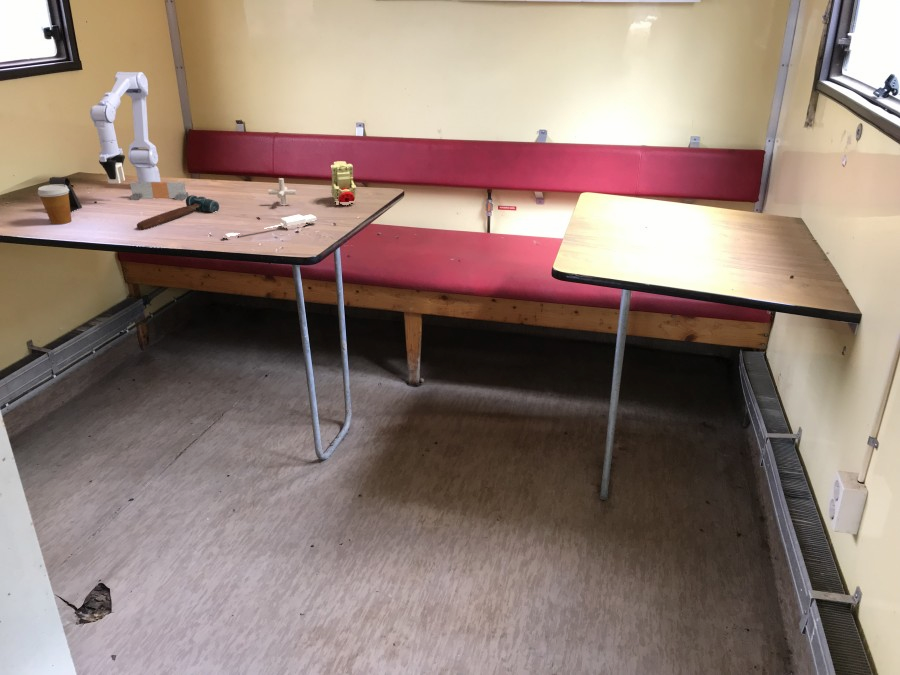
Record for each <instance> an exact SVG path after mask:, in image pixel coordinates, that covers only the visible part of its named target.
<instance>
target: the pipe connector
mask: <svg viewBox="0 0 900 675" xmlns="http://www.w3.org/2000/svg"><path fill="white" fill-rule="evenodd" d="M278 185H279V186H278V189H268V190H267V191H268V195H276V196H277V198H278V199H280V204H286V205H287V199H286V198H287V197H286V195H290V196H291V195H297V189H288V187H287V186H285V179H284V178H282V177H281V178H280V177H279V178H278Z"/></svg>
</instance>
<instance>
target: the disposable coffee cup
mask: <svg viewBox="0 0 900 675" xmlns="http://www.w3.org/2000/svg"><path fill="white" fill-rule="evenodd" d="M37 195H38V196H39V198H40V200H41V202H42V204H43V207H44V209H45V212H46V214H47V216H48V219H49V222H50V224H52V225H65V224H68V223H71V222H72V216H71V214H72V212H70V203H69V189H68V187H67V186H66V185H63V184H54V185H50V184H46V185H42V186H39V187H38V189H37Z"/></svg>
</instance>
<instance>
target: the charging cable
mask: <svg viewBox="0 0 900 675" xmlns="http://www.w3.org/2000/svg"><path fill="white" fill-rule="evenodd" d="M315 220H318V219H317V216H315V215H313V214H307V215H301V214H294V215H290V216H285V217H281V218H280V223H279V224H276V225H273V226H268V227H263V228H264V229H267V228H272V229H274V228H273V227H276V228H279V227H278V226H291V225H297V224H301V223H306V222H310V221H315ZM267 230H268V229H267ZM238 234H239V233H238V232H235V233H234V232H229V233H225V234H224V236H225V235H226V236H227V237H230V236H236V235H238Z"/></svg>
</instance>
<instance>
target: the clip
mask: <svg viewBox="0 0 900 675" xmlns="http://www.w3.org/2000/svg"><path fill="white" fill-rule="evenodd" d="M115 171H116V179H109V177H108V175H107V173H106V172H105V173H106V177H107V182H108V184H121V182H124V181H126V178H125V173H124V166H123V167H122V163H116V166H115Z"/></svg>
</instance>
